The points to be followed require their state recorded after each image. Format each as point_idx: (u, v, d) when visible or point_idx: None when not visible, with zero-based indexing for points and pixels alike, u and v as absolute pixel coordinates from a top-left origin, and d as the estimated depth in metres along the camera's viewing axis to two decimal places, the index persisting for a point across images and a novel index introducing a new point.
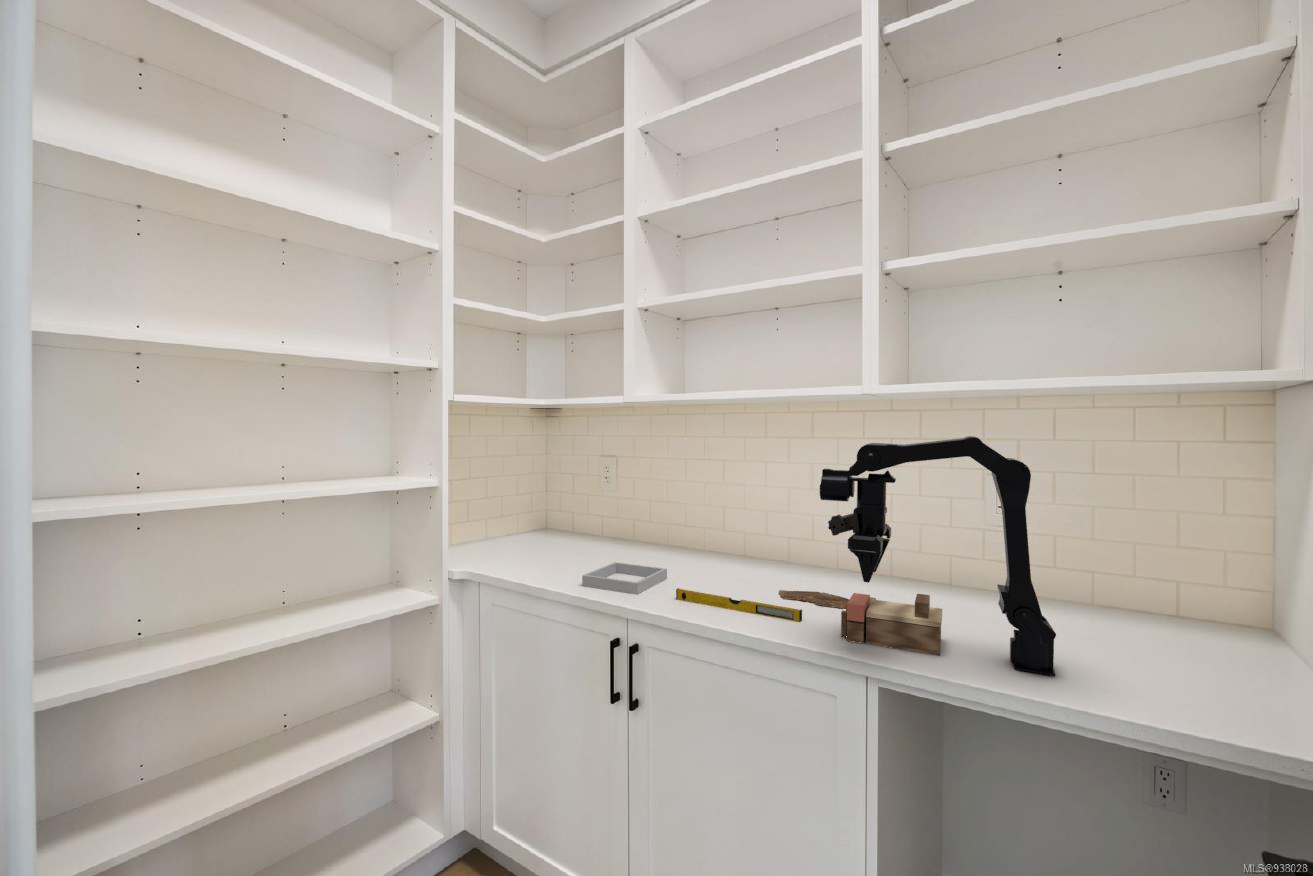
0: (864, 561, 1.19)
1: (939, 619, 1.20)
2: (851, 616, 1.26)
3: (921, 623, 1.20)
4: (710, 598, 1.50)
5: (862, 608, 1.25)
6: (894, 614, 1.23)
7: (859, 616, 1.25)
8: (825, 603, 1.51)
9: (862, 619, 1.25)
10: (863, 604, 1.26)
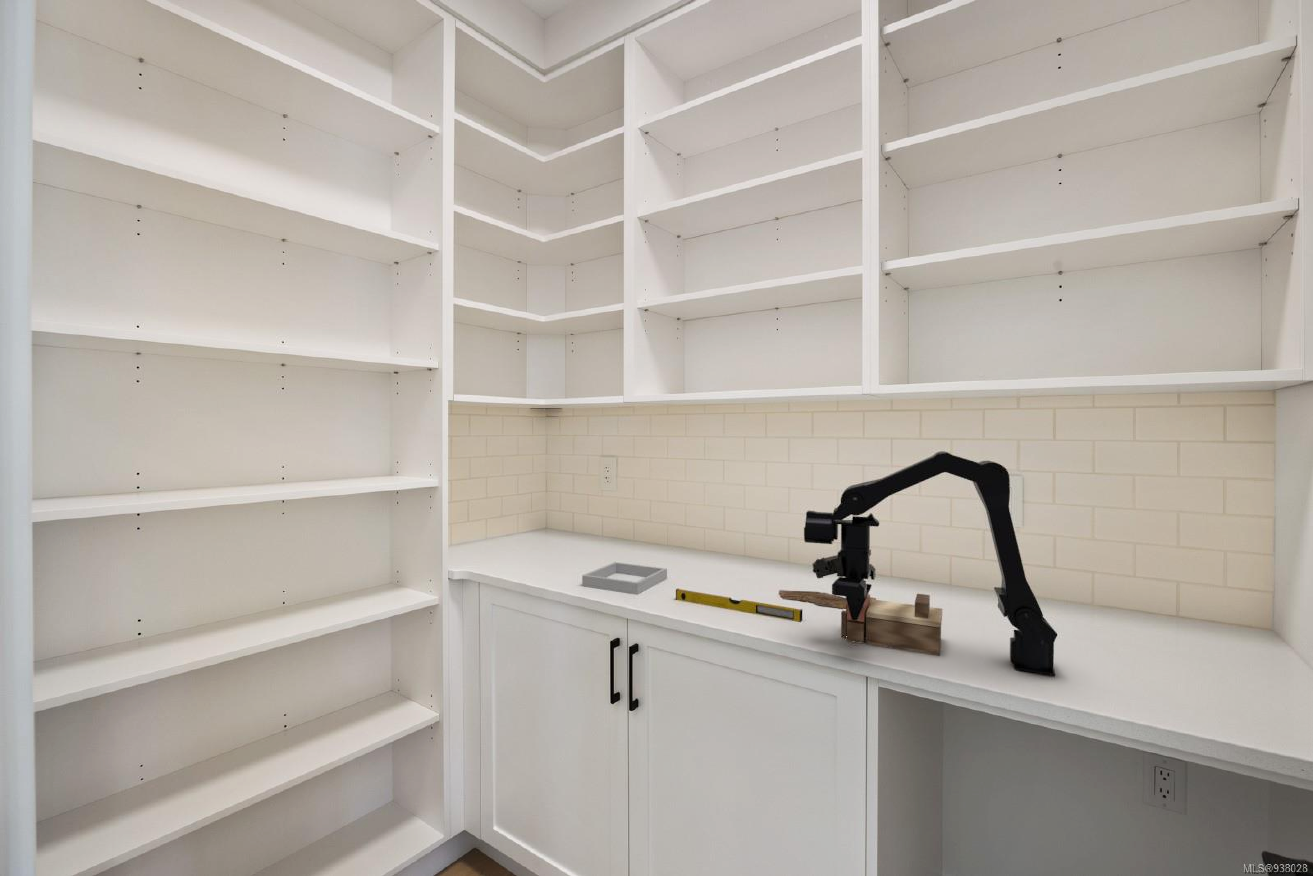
0: (852, 600, 1.23)
1: (939, 619, 1.20)
2: None
3: (921, 623, 1.20)
4: (710, 598, 1.50)
5: (862, 608, 1.25)
6: (894, 614, 1.23)
7: (860, 616, 1.25)
8: (825, 603, 1.51)
9: (862, 619, 1.25)
10: None
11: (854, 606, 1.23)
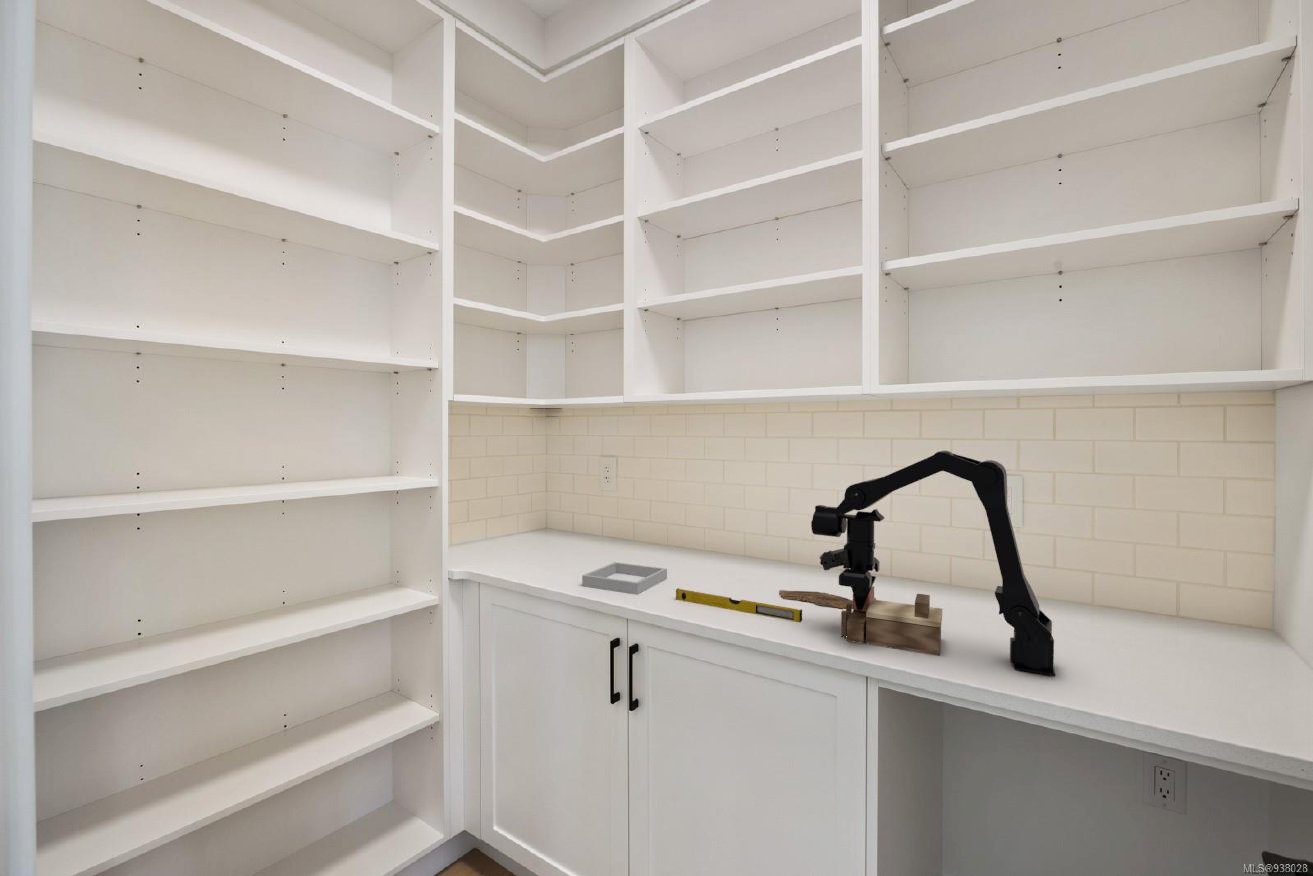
0: (857, 591, 1.30)
1: (939, 619, 1.20)
2: None
3: (921, 623, 1.20)
4: (710, 598, 1.50)
5: (867, 598, 1.32)
6: (894, 614, 1.23)
7: (865, 606, 1.32)
8: (825, 603, 1.51)
9: (867, 609, 1.32)
10: None
11: (859, 596, 1.30)
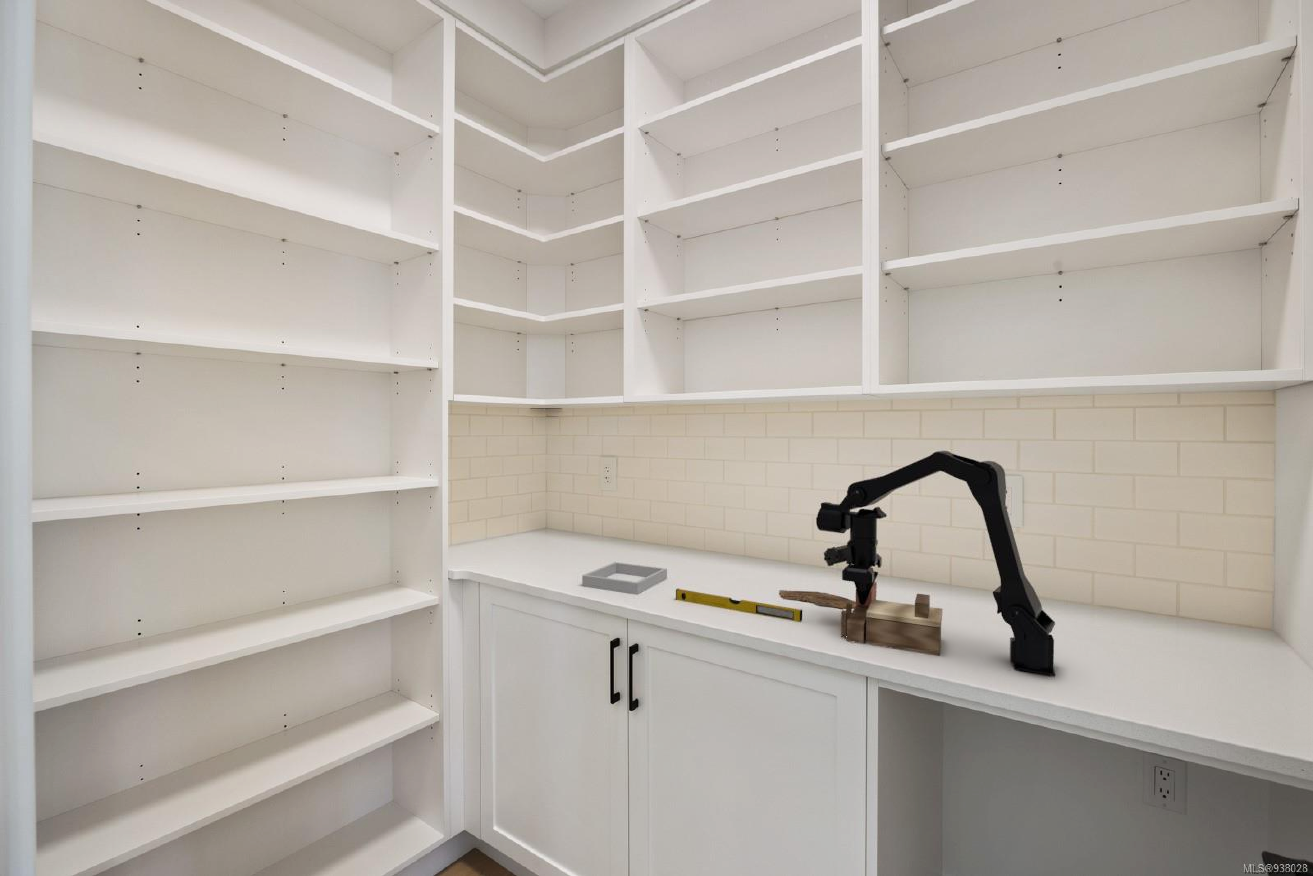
0: (860, 586, 1.34)
1: (939, 619, 1.20)
2: None
3: (921, 623, 1.20)
4: (710, 598, 1.50)
5: (870, 593, 1.36)
6: (894, 614, 1.23)
7: (867, 601, 1.36)
8: (825, 603, 1.51)
9: (870, 603, 1.36)
10: (871, 590, 1.37)
11: (862, 591, 1.33)
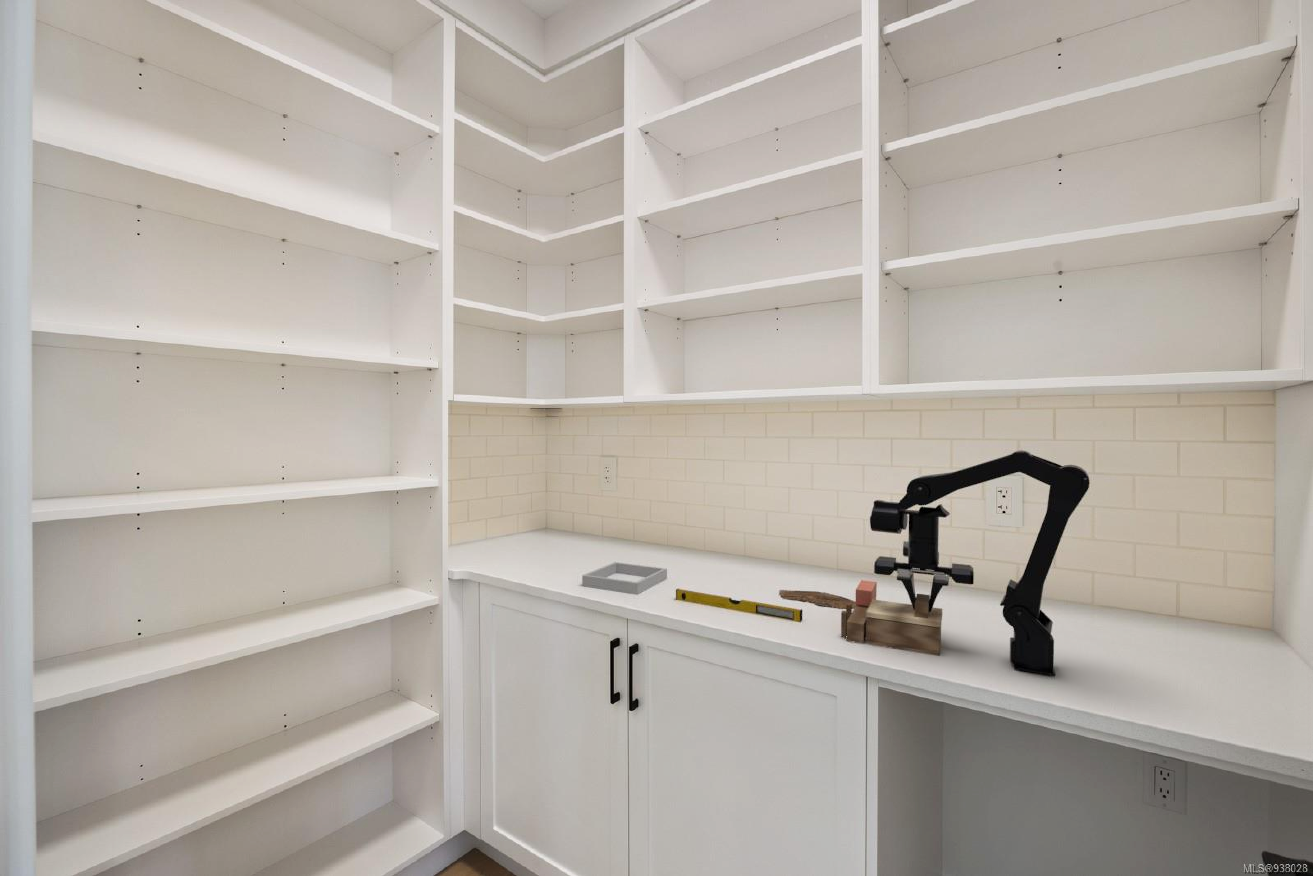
0: None
1: (939, 619, 1.20)
2: (859, 601, 1.37)
3: (921, 623, 1.20)
4: (710, 598, 1.50)
5: (870, 593, 1.36)
6: (894, 614, 1.23)
7: (867, 601, 1.36)
8: (825, 603, 1.51)
9: (870, 603, 1.36)
10: (871, 590, 1.37)
11: None
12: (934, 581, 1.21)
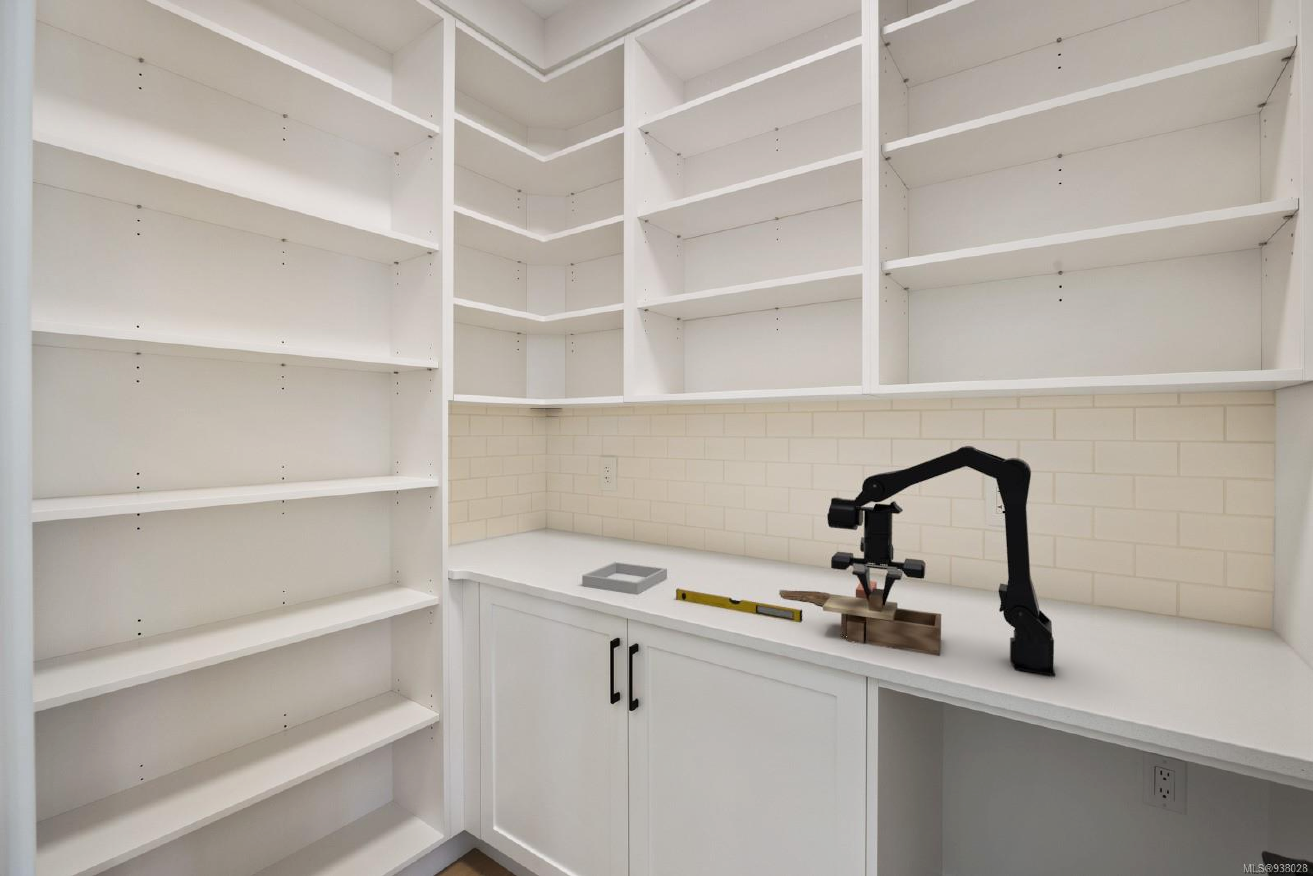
0: None
1: (892, 612, 1.24)
2: None
3: (874, 616, 1.24)
4: (710, 598, 1.50)
5: None
6: (849, 608, 1.27)
7: None
8: None
9: None
10: (871, 590, 1.37)
11: None
12: (887, 575, 1.25)
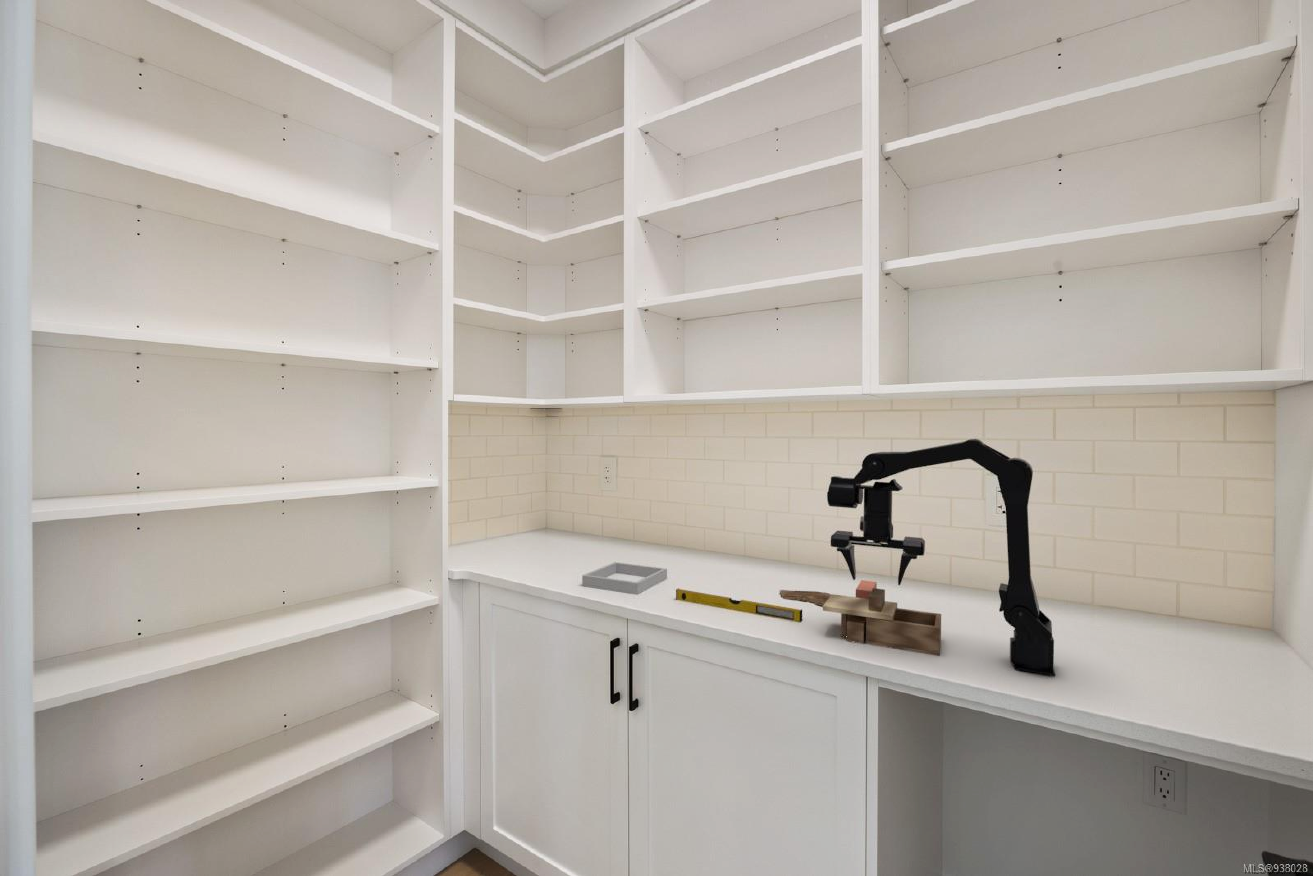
0: None
1: (891, 612, 1.24)
2: None
3: (874, 616, 1.24)
4: (710, 598, 1.50)
5: None
6: (849, 608, 1.27)
7: None
8: None
9: None
10: (871, 590, 1.37)
11: None
12: (903, 555, 1.24)
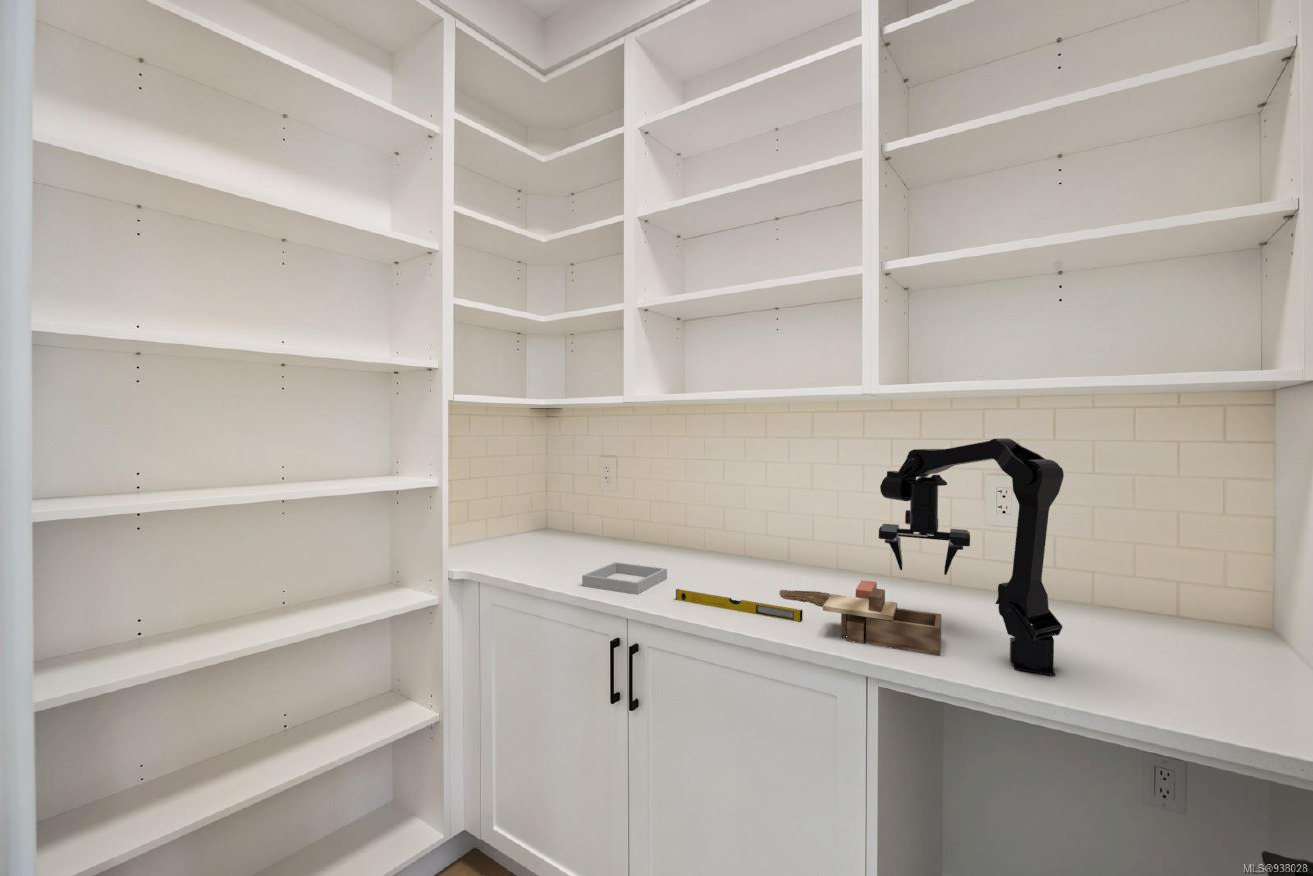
0: None
1: (891, 612, 1.24)
2: None
3: (874, 616, 1.24)
4: (710, 598, 1.50)
5: None
6: (849, 608, 1.27)
7: None
8: None
9: None
10: (871, 590, 1.37)
11: None
12: (950, 546, 1.30)
